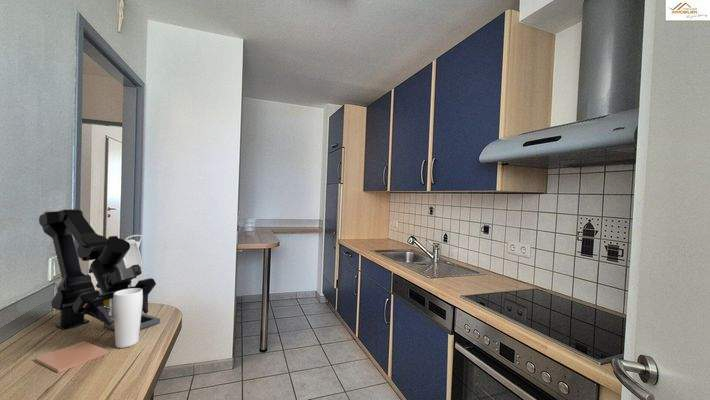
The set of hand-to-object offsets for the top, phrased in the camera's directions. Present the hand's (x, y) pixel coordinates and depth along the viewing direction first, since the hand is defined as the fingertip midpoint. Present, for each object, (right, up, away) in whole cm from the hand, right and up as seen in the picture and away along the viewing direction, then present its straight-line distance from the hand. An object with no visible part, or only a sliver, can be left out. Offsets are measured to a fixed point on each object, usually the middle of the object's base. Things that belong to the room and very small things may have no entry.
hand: (129, 318), depth 83 cm
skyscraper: (-18, -7, +22) cm, 29 cm away
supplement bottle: (-29, -7, +26) cm, 40 cm away
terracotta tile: (-10, -7, -7) cm, 14 cm away
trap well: (-9, -7, +13) cm, 17 cm away
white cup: (-1, -8, 0) cm, 8 cm away
